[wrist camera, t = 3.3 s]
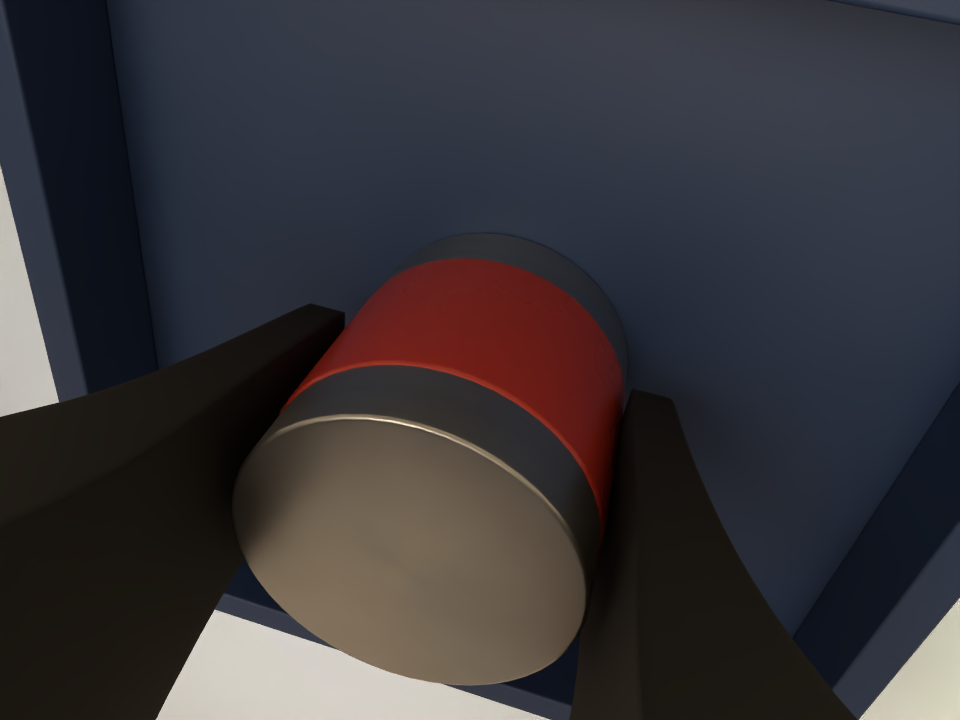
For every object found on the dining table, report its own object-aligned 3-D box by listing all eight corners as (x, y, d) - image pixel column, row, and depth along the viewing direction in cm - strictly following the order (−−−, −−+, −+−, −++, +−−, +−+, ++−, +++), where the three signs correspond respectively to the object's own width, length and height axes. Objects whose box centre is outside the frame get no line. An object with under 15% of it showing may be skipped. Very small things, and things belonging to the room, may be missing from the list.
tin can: (366, 418, 15) (236, 624, 11) (380, 200, 12) (213, 365, 8) (595, 483, 14) (550, 728, 10) (664, 269, 11) (641, 485, 7)
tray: (161, 502, 18) (100, 573, 16) (45, -226, 10) (-105, -247, 8) (783, 695, 16) (793, 800, 15) (1272, -11, 8) (1440, 22, 6)
